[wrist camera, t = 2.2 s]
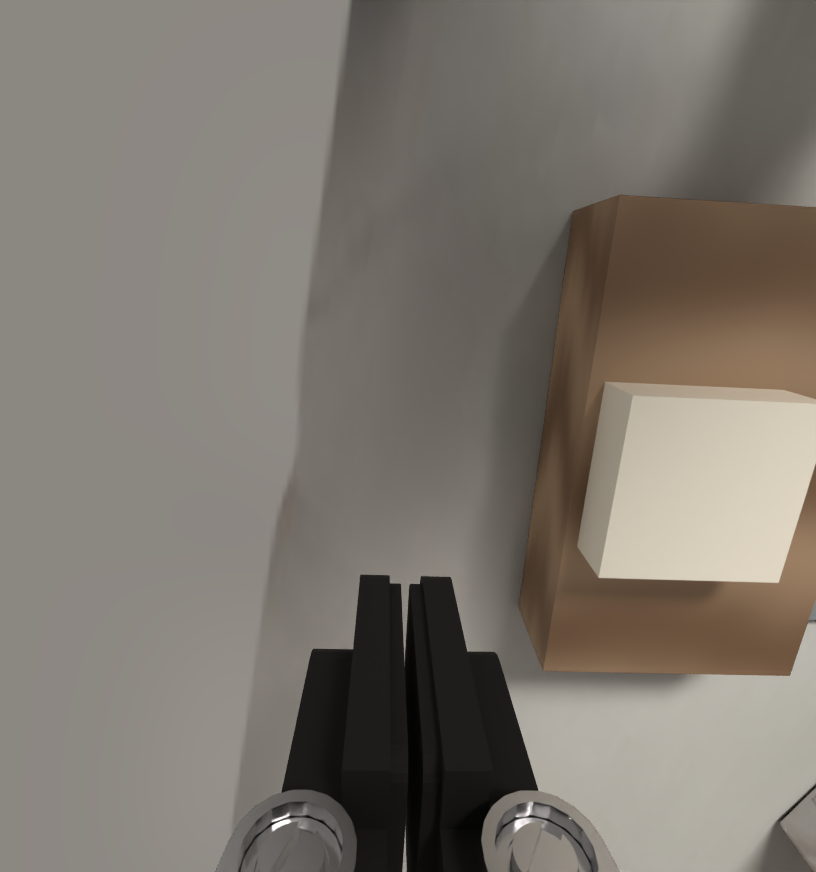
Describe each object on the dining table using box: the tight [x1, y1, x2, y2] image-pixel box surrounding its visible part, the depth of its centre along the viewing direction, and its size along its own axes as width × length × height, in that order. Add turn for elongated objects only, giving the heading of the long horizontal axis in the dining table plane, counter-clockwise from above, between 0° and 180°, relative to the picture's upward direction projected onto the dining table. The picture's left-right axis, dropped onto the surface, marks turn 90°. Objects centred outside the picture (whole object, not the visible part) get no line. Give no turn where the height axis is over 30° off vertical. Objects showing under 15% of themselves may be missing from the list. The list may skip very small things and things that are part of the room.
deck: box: [519, 195, 816, 676], centre depth 20 cm, size 17×10×4 cm, turn 177°
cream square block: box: [577, 382, 816, 583], centre depth 17 cm, size 6×6×2 cm
